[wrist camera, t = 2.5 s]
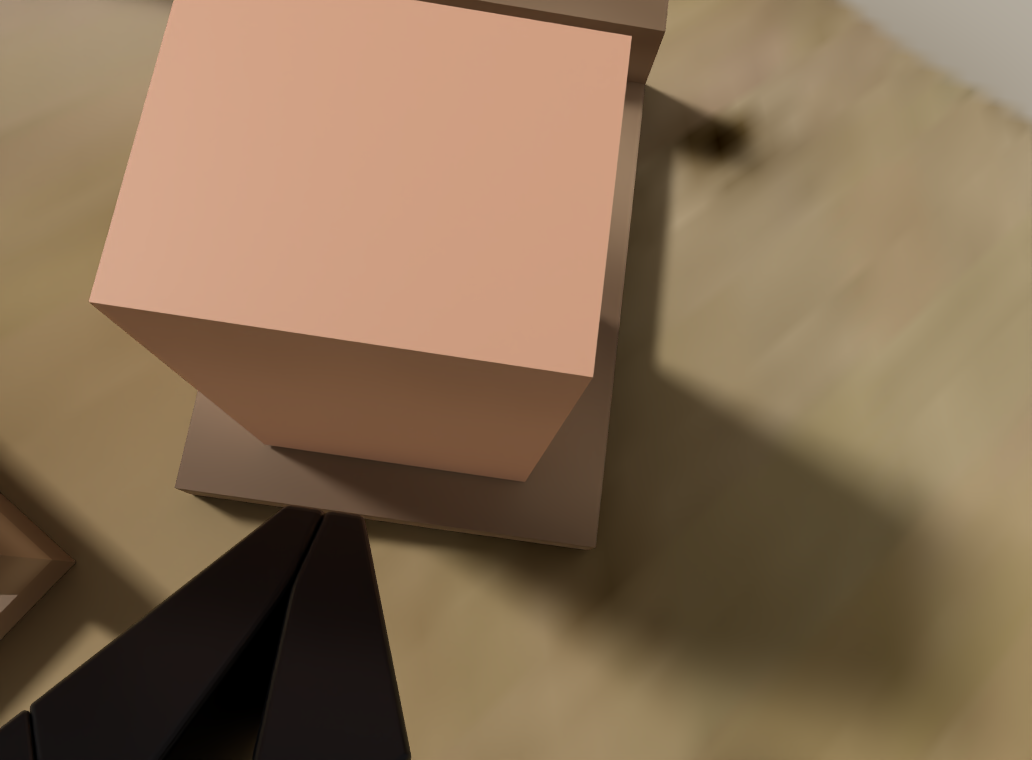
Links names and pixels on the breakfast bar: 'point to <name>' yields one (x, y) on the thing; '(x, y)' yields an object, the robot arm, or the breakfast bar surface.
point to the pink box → (373, 224)
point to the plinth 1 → (25, 564)
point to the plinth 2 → (445, 494)
